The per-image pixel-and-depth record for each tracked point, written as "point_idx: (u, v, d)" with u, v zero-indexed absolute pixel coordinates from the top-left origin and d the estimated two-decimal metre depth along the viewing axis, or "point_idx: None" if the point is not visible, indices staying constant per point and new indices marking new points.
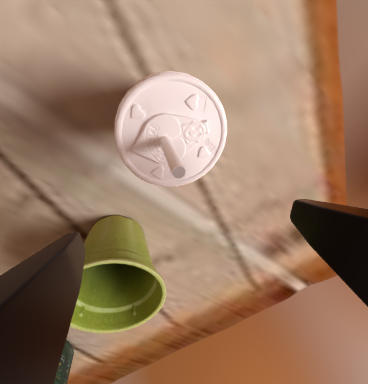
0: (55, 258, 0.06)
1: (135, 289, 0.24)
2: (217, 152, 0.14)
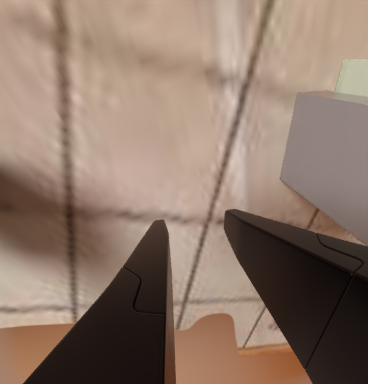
0: (168, 240, 0.07)
1: None
2: None
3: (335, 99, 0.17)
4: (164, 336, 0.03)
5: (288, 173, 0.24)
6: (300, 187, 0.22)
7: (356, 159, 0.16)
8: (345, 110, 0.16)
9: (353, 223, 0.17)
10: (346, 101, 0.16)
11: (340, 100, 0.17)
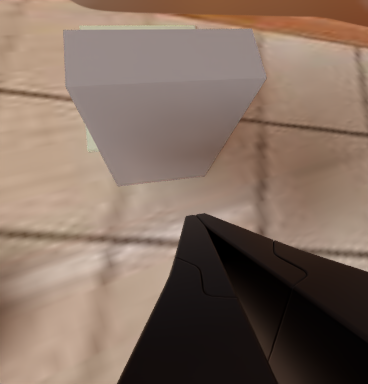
0: (208, 233, 0.07)
1: None
2: None
3: (109, 169, 0.18)
4: (247, 317, 0.03)
5: (195, 173, 0.23)
6: (204, 164, 0.21)
7: (152, 146, 0.16)
8: (114, 163, 0.17)
9: (222, 128, 0.15)
10: (107, 164, 0.17)
11: (108, 166, 0.18)
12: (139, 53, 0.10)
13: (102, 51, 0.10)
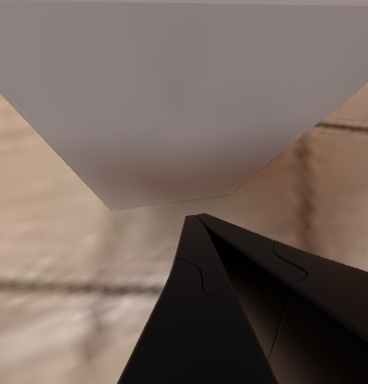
0: (208, 233, 0.07)
1: None
2: None
3: (96, 192, 0.12)
4: (247, 317, 0.03)
5: (219, 192, 0.16)
6: (235, 182, 0.14)
7: (165, 161, 0.09)
8: (101, 185, 0.11)
9: (288, 131, 0.08)
10: None
11: (93, 190, 0.12)
12: None
13: None
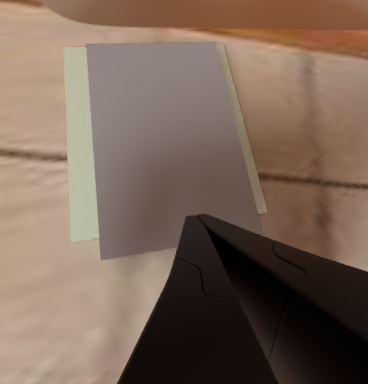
0: (208, 233, 0.07)
1: None
2: None
3: (96, 177, 0.13)
4: (247, 317, 0.03)
5: (238, 215, 0.13)
6: (238, 178, 0.14)
7: (151, 119, 0.14)
8: (104, 155, 0.13)
9: (215, 93, 0.15)
10: (94, 160, 0.13)
11: (95, 169, 0.13)
12: None
13: None
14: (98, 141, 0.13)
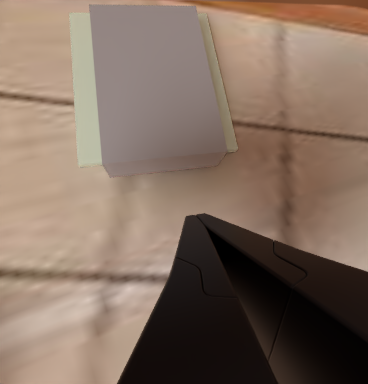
0: (208, 233, 0.07)
1: None
2: None
3: (98, 106, 0.16)
4: (247, 316, 0.03)
5: (209, 138, 0.17)
6: (210, 111, 0.17)
7: (141, 64, 0.18)
8: (104, 89, 0.17)
9: (194, 46, 0.19)
10: (97, 93, 0.17)
11: (97, 100, 0.17)
12: None
13: None
14: (99, 79, 0.17)
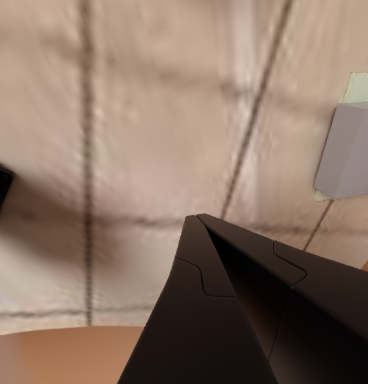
0: (208, 233, 0.07)
1: None
2: None
3: None
4: (247, 317, 0.03)
5: (347, 188, 0.23)
6: (363, 189, 0.24)
7: None
8: None
9: None
10: None
11: None
12: None
13: None
14: None
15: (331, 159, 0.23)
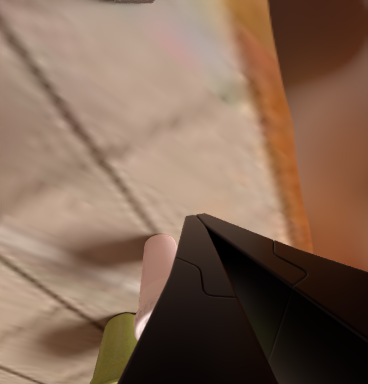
0: (208, 233, 0.07)
1: None
2: None
3: None
4: (247, 317, 0.03)
5: None
6: None
7: None
8: None
9: None
10: None
11: None
12: None
13: None
14: None
15: None
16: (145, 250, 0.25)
